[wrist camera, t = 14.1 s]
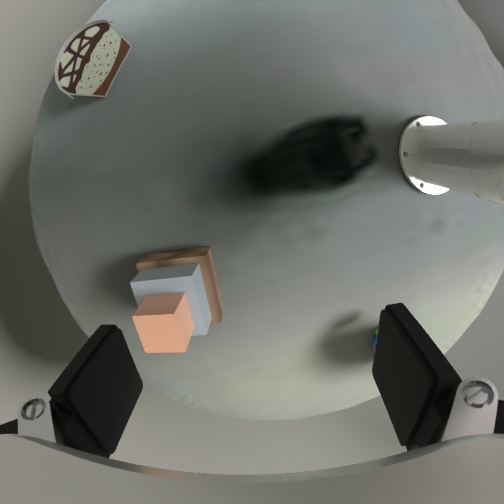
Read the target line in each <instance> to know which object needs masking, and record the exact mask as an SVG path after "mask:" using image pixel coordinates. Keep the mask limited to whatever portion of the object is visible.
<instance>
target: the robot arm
mask: <svg viewBox="0 0 504 504" xmlns="http://www.w3.org/2000/svg"><path fill="white" fill-rule="evenodd" d="M399 158H400V164H401V167H402V170H403V172H404V174H405V176H406V178H407V179H408V180H409V182H410V183H411V184H412V185H413V186H414V187H415V188H417V189H418V190H420V191H422V192H424V193H427V194H432V195H436V194H441V193H444V192H446V191H448V190H449V189H451V190H454V191H458V192H462V193H465V194H469V195H472V196H476V197H479V198H483V199H486V200H489V201H493V202H496V203H500V204H504V120H494V121H475V122H461V123H449V124H446V123H445V122H444V121H443V120H441V119H439V118H436V117H432V116H423V117H419V118H416V119H414V120H413V121H411V122H410V123H409V124H408V125H407V126H406V127H405V129H404V131H403V133H402V135H401V139H400V143H399ZM372 372H373V377H374V380H375V382H376V384H377V387H378V389H379V392H380V394H381V396H382V399H383V401H384V404H385V406H386V408H387V411H388V413H389V416H390V419H391V421H392V424H393V426H394V429H395V432H396V434H397V437H398V439H399V442H400V444H401V445H402V446H406V448H407V452H404V453H401V454H397V455H393V456H389V457H386V458H381V459H377V460H372V461H368V462H363V463H358V464H353V465H348V466H343V467H337V468H330V469H324V470H316V471H308V472H298V473H285V474H265V475H223V474H222V475H221V474H204V473H192V472H182V471H174V470H166V469H159V468H153V467H147V466H141V465H136V464H131V463H126V462H122V461H117V460H113V459H109V457H110V455H111V454H113V453H114V452H115V450H116V447H117V445H118V443H119V440H120V438H121V436H122V434H123V431H124V429H125V427H126V424H127V422H128V420H129V418H130V415H131V413H132V411H133V409H134V407H135V404H136V402H137V400H138V398H139V395H140V393H141V391H142V388H143V383H142V380H141V378H140V375H139V373H138V371H137V368H136V366H135V364H134V361H133V359H132V356H131V354H130V351H129V349H128V346H127V344H126V341H125V338H124V336H123V333H122V331H121V329H118V327H117V326H116V325H101V326H100V327H99V328H98V329H97V330H96V331H95V332H94V334H93V335H92V336H91V337H90V339H89V340H88V341H87V342H86V344H85V345H84V346H83V347H82V348H81V350H80V351H79V352H78V353H77V355H76V356H75V357H74V358H73V360H72V361H71V362H70V363H69V365H68V366H67V367H66V369H65V370H64V371H63V372H62V374H61V375H60V376H59V378H58V379H57V380H56V381H55V383H54V384H53V386H52V387H51V388H50V390H49V391H48V393H49V395H50V397H51V400H50V401H48V399H47V398H46V397H44V396H32V397H30V398H28V399H27V400H25V401H24V402H23V403H22V404H21V406H20V408H19V409H18V419H16V420H13V421H10V422H7V423H5V424H2V425H0V504H504V401H503V400H499V399H498V391H497V389H496V387H495V386H494V385H493V383H492V382H490V381H488V380H487V379H484V378H481V377H471V378H467V379H465V380H463V381H462V380H461V378H460V377H459V375H458V374H457V373H456V371H455V370H454V369H453V367H452V366H451V365H450V363H449V362H448V360H447V359H446V357H445V356H444V355H443V353H442V352H441V351H440V349H439V348H438V347H437V346H436V344H435V343H434V342H433V340H432V339H431V338H430V336H429V335H428V334H427V333H426V331H425V330H424V329H423V328H422V326H421V325H420V324H419V323H418V321H417V320H416V319H415V318H414V316H413V315H412V314H411V313H410V311H409V310H408V309H407V308H406V307H405V305H404V304H403V303H396V304H390V305H387V306H386V307H385V310H382V311H381V313H380V321H379V329H378V336H377V343H376V350H375V356H374V362H373V368H372Z"/></svg>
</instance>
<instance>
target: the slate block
mask: <svg viewBox="0 0 504 504" xmlns="http://www.w3.org/2000/svg"><path fill="white" fill-rule="evenodd" d="M130 284H131V287H132V290H133V293H134V296H135V300H136V303H137V306H138V307H139V306H140V305H141V303H142V302H143V301H144V299H145V298H146V297H147V295H160V294H172V293H184V292H185V294H186V298H187V302H188V306H189V310H190V314H191V318H192V321H193V325H194V330H193V333H192V335H191V336H196V335H207V332H208V329H209V326H210V322H211V319H212V317H211V312H210V308H209V304H208V300H207V296H206V291H205V287H204V283H203V278H202V274H201V269H200V265H199V263H194V264H186V265H177V266H169V267H161V268H152V269H144V270H141V271H140V272H139V273H138V274H137V276H136V277H135V278H134V279H133V280H132V281H131V282H130Z"/></svg>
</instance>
